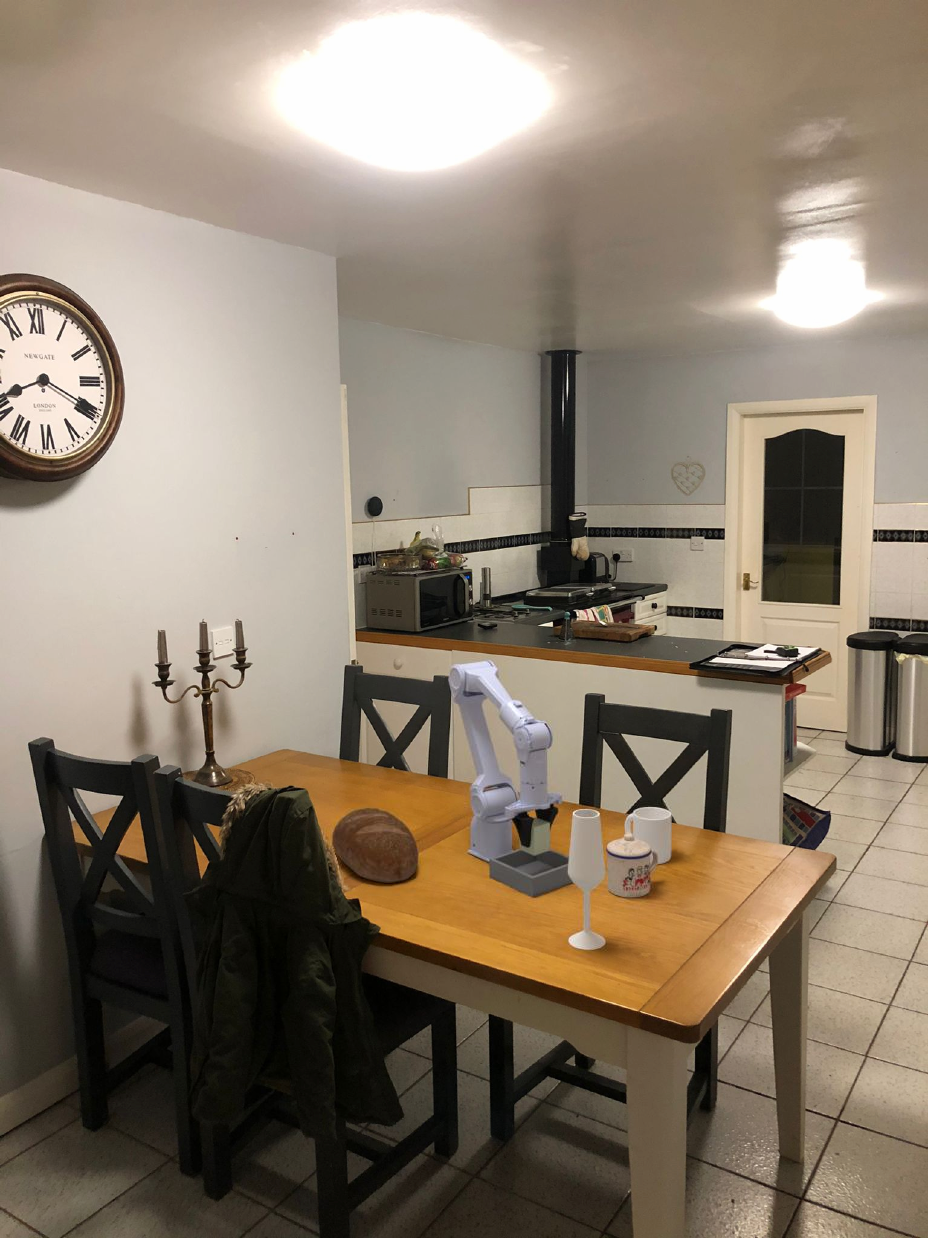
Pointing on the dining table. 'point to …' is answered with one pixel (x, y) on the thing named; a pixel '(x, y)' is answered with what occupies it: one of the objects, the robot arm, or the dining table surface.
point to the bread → (376, 845)
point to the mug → (652, 830)
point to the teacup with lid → (629, 866)
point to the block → (538, 838)
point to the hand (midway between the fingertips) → (534, 843)
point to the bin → (531, 871)
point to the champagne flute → (586, 869)
